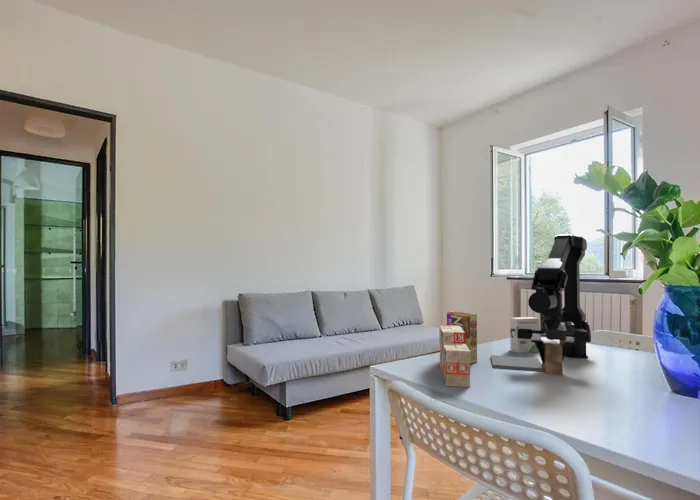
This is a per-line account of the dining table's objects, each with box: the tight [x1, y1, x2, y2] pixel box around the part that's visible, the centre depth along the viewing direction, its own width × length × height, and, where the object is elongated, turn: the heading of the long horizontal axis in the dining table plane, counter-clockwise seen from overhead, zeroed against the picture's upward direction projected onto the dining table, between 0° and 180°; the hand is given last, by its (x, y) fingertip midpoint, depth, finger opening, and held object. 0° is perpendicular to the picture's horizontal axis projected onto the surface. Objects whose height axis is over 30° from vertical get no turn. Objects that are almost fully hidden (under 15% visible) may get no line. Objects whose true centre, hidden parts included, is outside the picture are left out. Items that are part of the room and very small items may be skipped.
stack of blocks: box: [438, 324, 471, 388], centre depth 107 cm, size 21×6×12 cm, turn 171°
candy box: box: [446, 310, 478, 364], centre depth 122 cm, size 9×4×15 cm, turn 39°
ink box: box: [509, 316, 540, 354], centre depth 134 cm, size 9×5×12 cm, turn 99°
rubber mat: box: [490, 354, 545, 372], centre depth 117 cm, size 14×12×1 cm
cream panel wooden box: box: [541, 339, 564, 376], centre depth 110 cm, size 4×7×8 cm, turn 163°
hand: (551, 363), depth 110 cm, fingers closed on cream panel wooden box, 4 cm apart
